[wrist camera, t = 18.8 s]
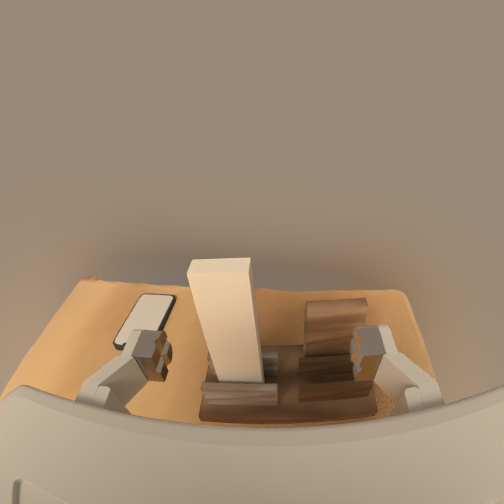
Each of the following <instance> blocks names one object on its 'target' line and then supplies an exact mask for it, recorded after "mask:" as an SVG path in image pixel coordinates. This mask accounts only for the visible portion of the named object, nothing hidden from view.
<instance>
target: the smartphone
mask: <svg viewBox="0 0 504 504" xmlns="http://www.w3.org/2000/svg"><path fill="white" fill-rule="evenodd" d="M175 301H176V300H175V297H174V296H173V295H164V294H143V295H141V296H140V297H139V299H138V301H137V302H136V304H135V305H134V307H133V309H132V310H131V312H130V314H129V315H128V317H127V319H126V320H125V322H124V324H123V325H122V327H121V329H120V331H119V332H118V334H117V336H116V337H115V339H114V341H113V345H114V346H115V348H116V349H118V350H123V349H124V347H125V345H126V343H127V340H128V338H129V336H130V334H131V332H132V331H133V330H134V329H141V330H155V331H162V330H163V328H164V325H165V323H166V321H167V319H168V317H169V314H170V312H171V310H172V308H173V306H174V304H175Z"/></svg>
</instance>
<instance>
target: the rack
mask: <svg viewBox="0 0 504 504" xmlns="http://www.w3.org/2000/svg"><path fill="white" fill-rule="evenodd" d="M303 346H304V345H297V346H264V347H261V353H262V362H263V371H264V379H265V383H264V384H234V383H219V380H218V377H217V374H216V371H215V368H214V365H213V362H212V359H211V355H210V352H208V356H207V358H208V361H209V366H208V371H207V376H206V381H205V382H202V385H201V390H202V392H203V396H202V402H201V407H200V412H199V418H200V420H201V421H211V422H226V423H254V424H278V423H306V422H322V421H333V420H343V419H352V418H360V417H367V416H374V415H375V414H376V413H377V406H376V401H375V396H374V391H373V386H372V385H373V381H372V380H367V381H356V382H355V379H354V374H353V366H354V363H353V362H352V361H351V358H350V354H347V355H335V356H321V357H304V353H303Z"/></svg>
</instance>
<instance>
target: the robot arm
mask: <svg viewBox="0 0 504 504" xmlns="http://www.w3.org/2000/svg"><path fill="white" fill-rule="evenodd" d="M352 334H353V339H352V340H351V342H350V358H351V361H352V362H353V363H354V366H353V374H354V379H355V382H356V381H367V380H373V381H374V382H375V383H376V384H377V385H378V386H379V388H380V389H381V390H382V391H383V392H384V393H385V394H386V395H387V396H388V398H389V399H390V400H391V401H392V402H393V403H394V404H395V405H396V406H395V408H394V409H393V411H392V413H391V414H390V416H389V417H386V418H380V419H374V420H367V421H360V422H352V423H343V424H333V425H321V426H306V427H274V428H261V427H229V426H213V425H201V424H191V423H182V422H174V421H166V420H160V419H153V418H147V417H142V416H136V415H131V413H130V412H129V411H128V410H127V408H126V407H125V405H126V404H127V403H128V402H129V401H130V400H131V399H132V398H133V397H134V396H135V395H136V394H137V393H138V392H139V391H140V390H141V389H142V388H143V387H144V386H145V385H146V383H147V382H148V381H159V382H165V380H166V377H167V373H168V369H167V367H166V366H167V365H168V364H170V363H171V360H172V346H171V344H170V343H169V342H168V341H167V340H166V339H167V335H166V333H165V332H164V331H155V330H141V329H134V330H133V331H132V332H131V334H130V336H129V338H128V340H127V343H126V345H125V347H124V349H123V352H122V354H121V355H118V356H116V357H115V358H114V359H112V360H111V361H110V362H108V363H107V364H106V365H104V366H103V367H102V368H101V369H99V370H98V371H97V372H95V373H94V374H93V375H91V376H90V377H89V378H87V379H86V380H85V381H84V382H83V385H82V387H81V389H80V391H79V393H78V396H77V398H76V400H75V401H73V400H70V399H66V398H63V397H60V396H57V395H54V394H51V393H48V392H45V391H42V390H39V389H36V388H34V387H31V386H28V385H21V386H19V387H17V388H16V389H14V390H13V391H12V392H10V393H9V394H8V395H6V396H5V397H4V398H3V399H2V401H1V403H0V504H504V385H502V386H499V387H497V388H494V389H492V390H489V391H486V392H483V393H481V394H478V395H475V396H471V397H468V398H465V399H462V400H459V401H455V402H452V403H448V404H444V401H443V398H442V395H441V391H440V388H439V386H438V383H437V381H436V380H435V379H434V378H432V377H431V376H430V375H429V374H427V373H426V372H425V371H424V370H423V369H421V368H420V367H419V366H418V365H416V364H415V363H414V362H413V361H412V360H410V359H409V358H408V357H407V356H405V355H404V354H403V353H402V352H399V353H398V350H397V347H396V344H395V341H394V338H393V335H392V333H391V330H390V327H389V325H388V324H383V325H372V326H363V327H354V329H353V333H352Z"/></svg>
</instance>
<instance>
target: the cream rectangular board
mask: <svg viewBox="0 0 504 504" xmlns="http://www.w3.org/2000/svg"><path fill="white" fill-rule="evenodd" d="M187 276H188V280H189V284H190V288H191V291H192V295H193V298H194V302H195V306H196V309H197V313H198V316H199V319H200V323H201V326H202V330H203V333H204V336H205V339H206V343H207V346H208V349H209V352H210V355H211V359H212V362H213V365H214V368H215V371H216V374H217V377H218V380H219V383H234V384H264V383H265V379H264V371H263V362H262V353H261V345H260V336H259V327H258V318H257V309H256V301H255V292H254V283H253V274H252V266H251V258H228V259H197V260H192V262H191V265H190V267H189V269H188V272H187Z"/></svg>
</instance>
